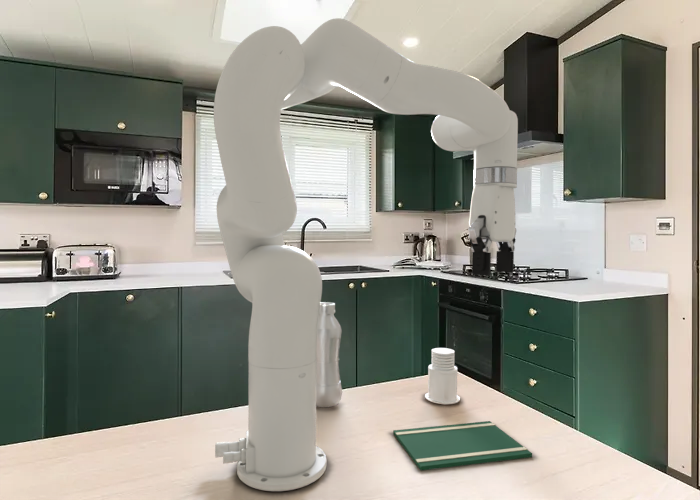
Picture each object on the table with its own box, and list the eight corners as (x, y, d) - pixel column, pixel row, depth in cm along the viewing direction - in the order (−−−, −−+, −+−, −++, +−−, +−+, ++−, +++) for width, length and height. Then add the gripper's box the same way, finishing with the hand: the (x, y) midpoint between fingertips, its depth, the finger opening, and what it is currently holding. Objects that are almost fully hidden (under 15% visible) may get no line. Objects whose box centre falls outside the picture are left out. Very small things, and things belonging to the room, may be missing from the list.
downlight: (464, 406, 86) (465, 356, 86) (428, 406, 86) (429, 355, 86) (455, 392, 94) (455, 346, 94) (422, 392, 94) (422, 345, 94)
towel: (420, 470, 62) (420, 465, 62) (393, 433, 74) (393, 429, 74) (532, 457, 66) (532, 452, 66) (489, 424, 78) (489, 420, 78)
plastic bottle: (338, 412, 83) (338, 306, 82) (303, 409, 84) (304, 305, 84) (345, 400, 89) (346, 301, 89) (313, 397, 90) (313, 300, 90)
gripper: (496, 186, 90) (494, 270, 90) (452, 177, 77) (451, 274, 77) (533, 183, 84) (531, 272, 85) (493, 173, 72) (491, 277, 72)
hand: (493, 273), depth 81 cm, fingers open, 9 cm apart
